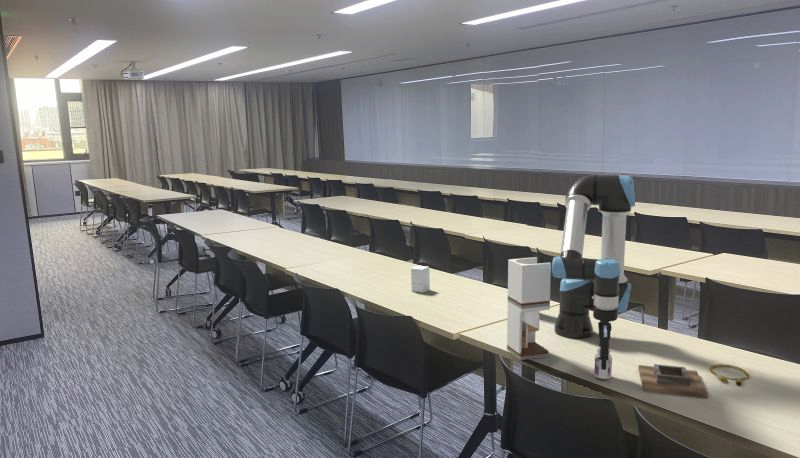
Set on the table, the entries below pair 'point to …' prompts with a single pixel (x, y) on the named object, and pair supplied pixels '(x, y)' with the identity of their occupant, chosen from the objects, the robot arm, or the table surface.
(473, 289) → the table surface
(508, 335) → the white notched tower
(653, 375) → the socket block
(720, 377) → the gold torc necklace
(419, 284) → the supplement box
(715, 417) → the table surface
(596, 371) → the pill bottle
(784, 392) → the table surface
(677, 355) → the table surface
